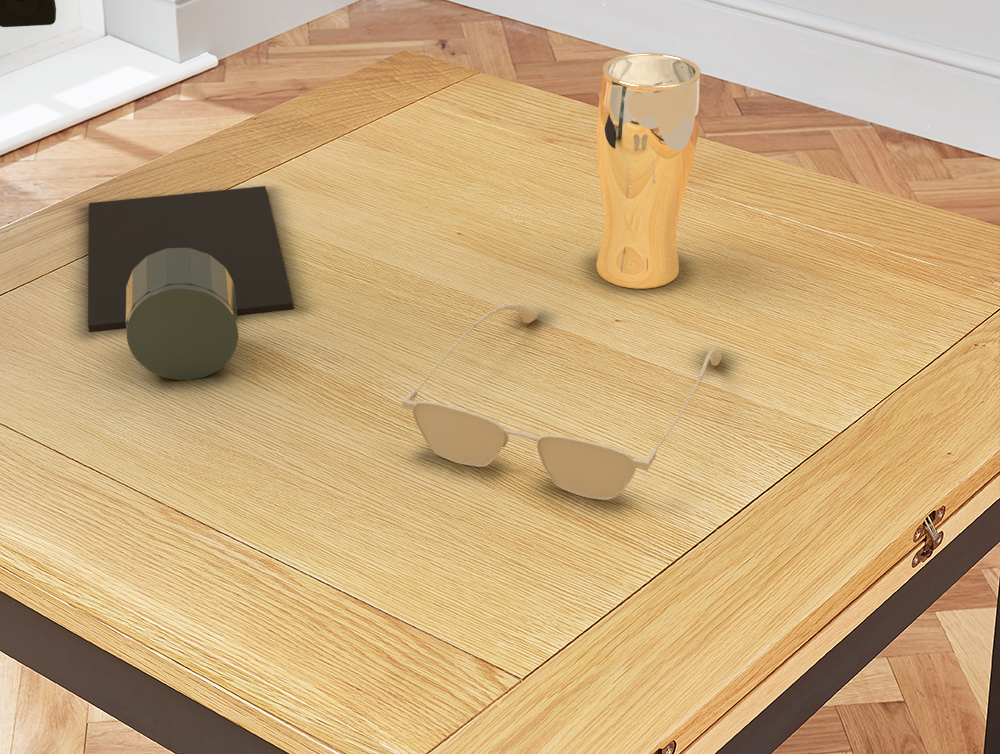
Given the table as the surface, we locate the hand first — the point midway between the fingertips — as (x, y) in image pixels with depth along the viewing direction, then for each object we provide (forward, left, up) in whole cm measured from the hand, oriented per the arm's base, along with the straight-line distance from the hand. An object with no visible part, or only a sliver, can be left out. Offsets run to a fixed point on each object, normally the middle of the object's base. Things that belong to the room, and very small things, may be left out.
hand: (27, 20), depth 76 cm
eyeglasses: (+25, +20, -23) cm, 39 cm away
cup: (+6, +3, -19) cm, 20 cm away
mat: (-9, +12, -22) cm, 27 cm away
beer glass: (+15, +36, -23) cm, 45 cm away
